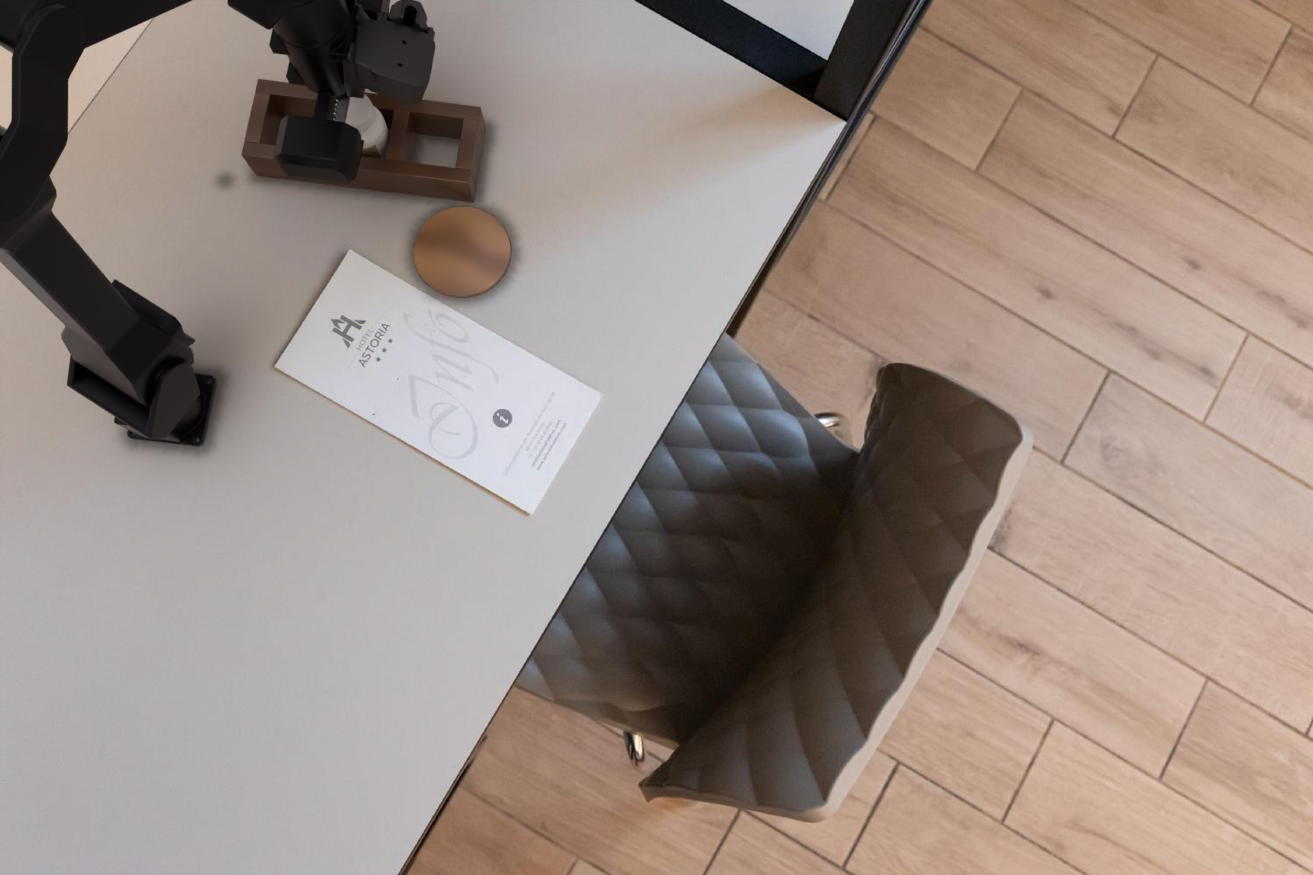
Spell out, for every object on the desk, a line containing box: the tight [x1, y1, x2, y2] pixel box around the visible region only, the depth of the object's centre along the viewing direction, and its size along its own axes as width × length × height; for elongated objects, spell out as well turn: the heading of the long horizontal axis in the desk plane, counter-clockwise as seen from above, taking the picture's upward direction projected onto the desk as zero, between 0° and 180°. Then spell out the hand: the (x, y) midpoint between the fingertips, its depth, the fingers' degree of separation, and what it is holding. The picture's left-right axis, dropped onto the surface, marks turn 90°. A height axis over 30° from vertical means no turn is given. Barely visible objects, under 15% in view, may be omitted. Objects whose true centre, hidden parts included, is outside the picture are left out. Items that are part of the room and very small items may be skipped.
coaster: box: [412, 205, 512, 298], centre depth 92 cm, size 9×9×1 cm
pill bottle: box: [334, 95, 390, 159], centre depth 90 cm, size 4×4×8 cm
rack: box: [240, 78, 487, 203], centre depth 92 cm, size 8×21×4 cm, turn 84°
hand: (358, 124), depth 89 cm, fingers open, 9 cm apart
